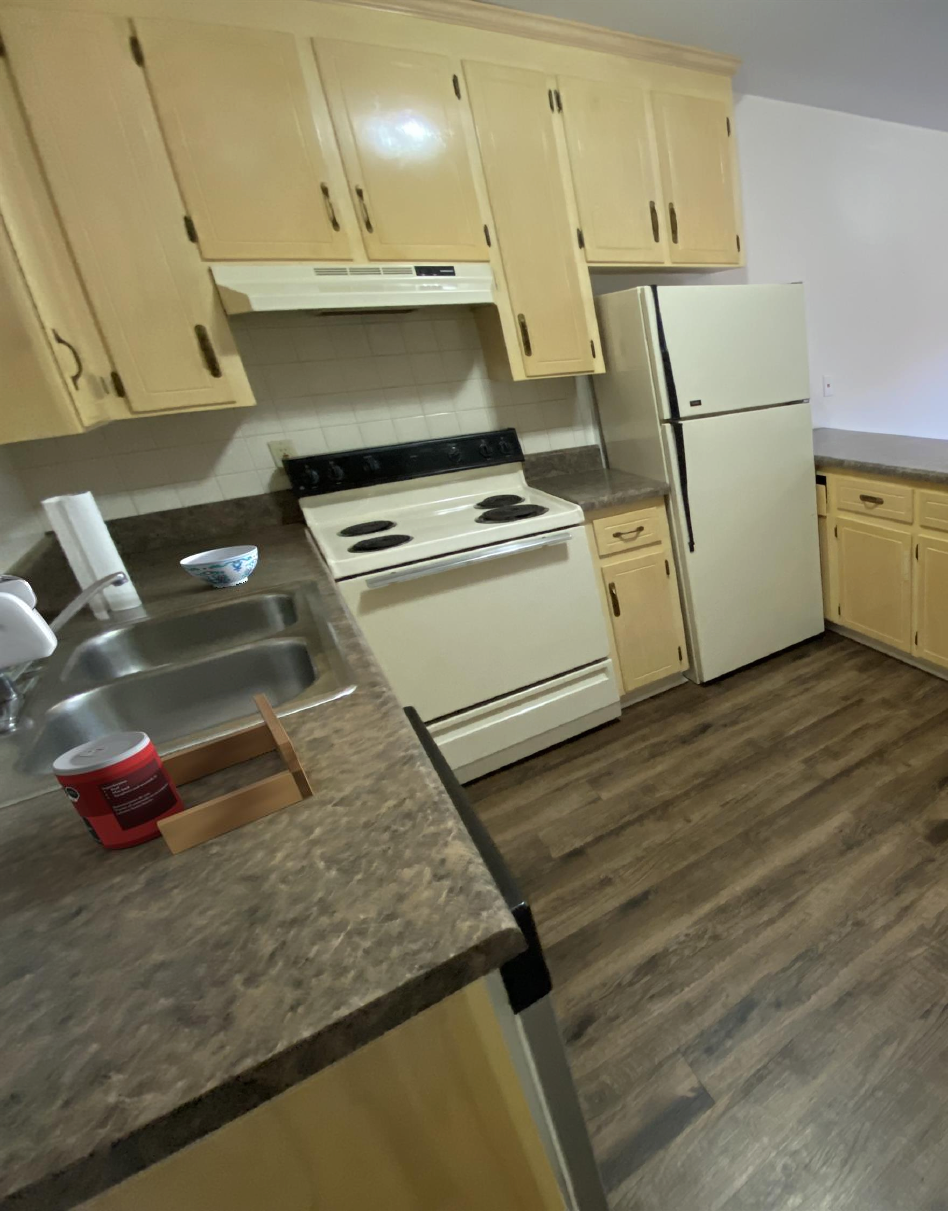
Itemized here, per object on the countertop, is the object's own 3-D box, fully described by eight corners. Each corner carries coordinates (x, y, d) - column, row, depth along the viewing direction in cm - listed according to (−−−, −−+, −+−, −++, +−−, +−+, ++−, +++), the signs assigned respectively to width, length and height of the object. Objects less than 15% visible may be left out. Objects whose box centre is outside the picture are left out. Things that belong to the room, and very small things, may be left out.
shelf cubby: (173, 855, 73) (140, 796, 70) (161, 788, 85) (133, 735, 82) (313, 795, 81) (290, 740, 78) (284, 742, 93) (263, 692, 90)
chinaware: (282, 572, 173) (271, 544, 170) (229, 593, 159) (216, 563, 156) (233, 573, 175) (221, 546, 172) (176, 594, 161) (162, 564, 158)
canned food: (123, 816, 80) (79, 739, 76) (201, 799, 82) (162, 724, 78) (80, 859, 73) (29, 778, 69) (166, 840, 75) (122, 760, 71)
